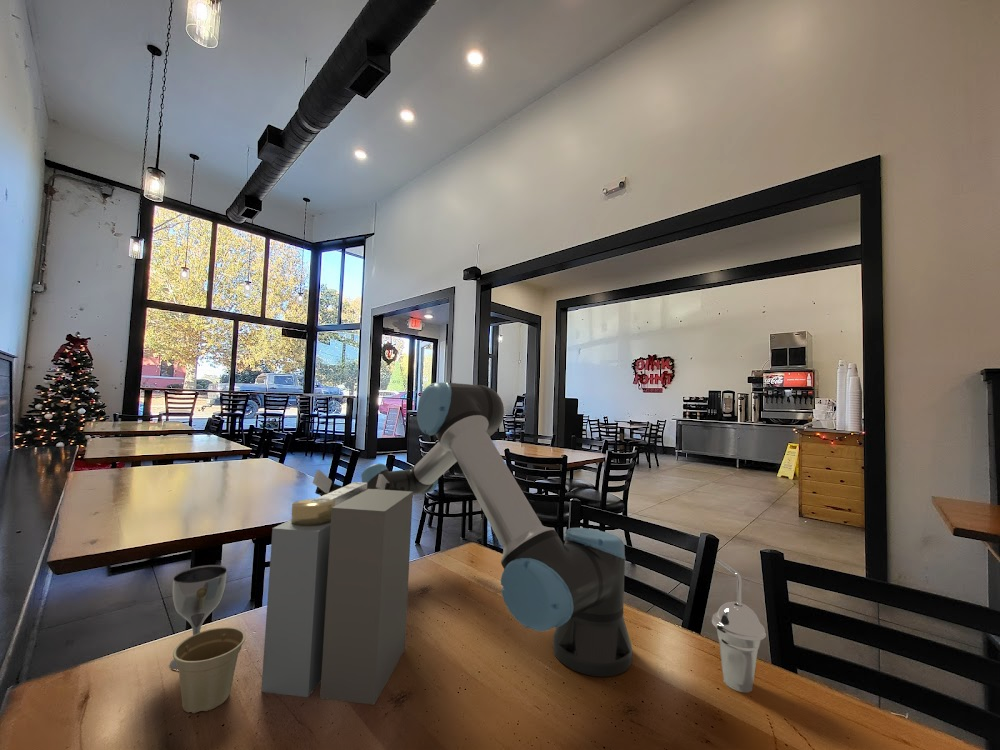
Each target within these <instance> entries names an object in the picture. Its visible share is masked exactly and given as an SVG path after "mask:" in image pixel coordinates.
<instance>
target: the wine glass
mask: <svg viewBox="0 0 1000 750" xmlns="http://www.w3.org/2000/svg"><path fill="white" fill-rule="evenodd" d="M227 570H228V569H227V567H225V566H223V565H220V564H219V565H217V564H207V565H199V566H194V567H191V568H187V569H184V570H182V571H180V572H179V573H176V574H175V575H174V577H173V580H172V599H173V601H172V602H173V604H174V608H175V611H176V612H177V614H178V615H180V617H182V618H183V619H184V620H186V621H187V622H188V623H189V625H190V626H191V629H192V636H193V635H195V634H198V633H200V632H201V630H202V625H203V624H204V622H205V620H206V619H207V618H208V617H209V616H210V614H211V613H212V612H213V611H214V610H215V609H216V608H217V607H218V605H219V604H220V602H221V600H222V598H223V595H224V591H225V588H226V581H227V572H228V571H227ZM169 666H170V667H169ZM168 667H169V669H170V668H171V669H176V670H177V669H178V670H179V668H178V667H177V664H176V660H175V659H174V658H173V659H172V660H170V662H169V665H168ZM171 669H170V670H171Z"/></svg>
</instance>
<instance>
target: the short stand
mask: <svg viewBox="0 0 1000 750" xmlns="http://www.w3.org/2000/svg"><path fill="white" fill-rule="evenodd" d="M330 528H331V523H328V524H324V525H319V526H297V525H293V524H292V523H291V519H289V520H287V521H285V522H283V523H281V524H278V525H277V526H274V527H272V528H271V529H272V531H271V545H270V546H271V547H270V558H269V559H270V560H269V572H268V573H269V574H268V589H267V602H266V603H267V604H266V616H265V617H266V618H265V619H266V621H265V631H264V646H263V660H262V662H263V663H262V672H261V674H262V676H261V677H262V678H261V688H260V689H261V693H268V694H277V695H286V696H288V695H289V696H295V697H304V698H308V697H310V696H311V694H312V693H313V692H314V690H315V689H317V687H318V686H319V684H321V674H322V658H323V642H324V625H325V609H326V593H327V577H328V561H329V544H330ZM312 691H313V692H312Z"/></svg>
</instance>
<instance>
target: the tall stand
mask: <svg viewBox="0 0 1000 750" xmlns="http://www.w3.org/2000/svg"><path fill="white" fill-rule="evenodd" d="M413 496H414V495H413V492H411V491H396V490H380V489H367V490H365V491H364V492H362V493H360V494H358V495H356V496H354V497H352V498H350V499H348V500H346V501H344V502H342V503H340V504H338V505H336V506H334V507H332V512H331V528H330V544H329V561H328V577H327V593H326V609H325V625H324V642H323V658H322V674H321V681H320V690H319V691H320V693H319V699H320V698H324V699H323V700H329V701H330V700H331V701H337V700H338V701H339V702H345V703H346V702H348V703H357V704H364V705H374V704H376V703H377V702H378V699H379V697H380V695H381V694H382V692H383V690H384V688H385V686H386V684H387V683H388V681H389V679H390V677H391V676H392V674H393V672H394V670H395V668H396V666H397V665H398V663H399V662H400V659H401V657H402V656H403V654H404V653H405V650H406V635H407V631H406V630H407V615H408V614H407V613H408V597H409V594H408V593H409V575H410V574H409V573H410V553H411V534H412V517H413V515H412V514H413V498H414V497H413Z"/></svg>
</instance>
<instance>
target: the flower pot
mask: <svg viewBox="0 0 1000 750" xmlns="http://www.w3.org/2000/svg"><path fill="white" fill-rule="evenodd" d="M245 640H246V633H245V632H244V631H243V630H242V629H241V628H238V627H237V628H236V627H231V626H230V627H229V626H227V627H224V626H223V627H217V628H211V629H207V630H204V631H200V633H198V634H195V635H193V634H192V635H191V636H189V637H187V638H186V639H184V640H182V641H181V642H180V643H179V644H177V645H176V646H175V648H174V650H173V652H172V657H173V659H175V660H176V664H177V667H178V668H179V672H178V674H179V683H180V692H181V693H180V694H181V695H180V696H181V705H182V709H183V711H185V712H186V713H189V712H192V713H191V714H196V713H199V712H201V711H202V712H209V711H211V710H213V709H215V708H217V707H219V706H220V705H222V704H223V703H224V702H225V701H227V699H228V698H229V696H230V694H231V692H232V686H233V681H234V680H233V679H234V675H235V671H236V666H237V661H238V656H239V654H240V652H241V650H242V646H243V644H244V643H245ZM208 710H209V711H208Z"/></svg>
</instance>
